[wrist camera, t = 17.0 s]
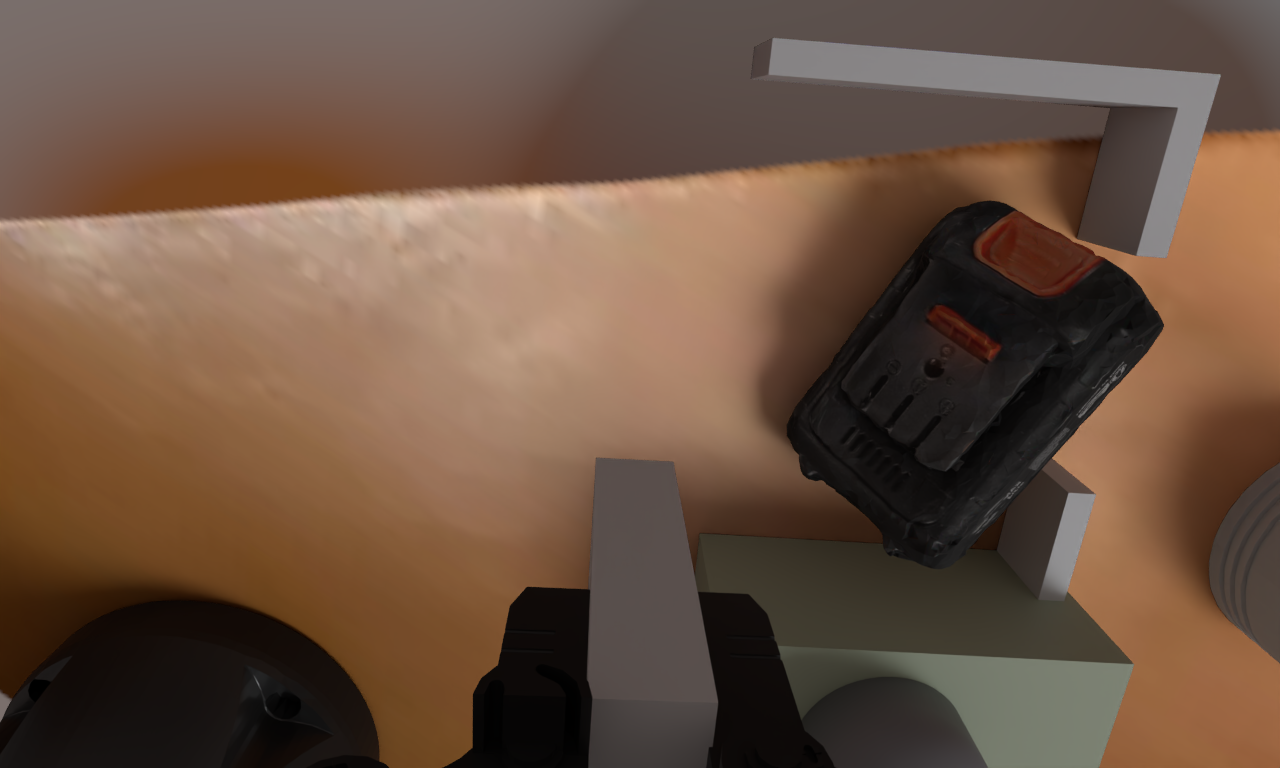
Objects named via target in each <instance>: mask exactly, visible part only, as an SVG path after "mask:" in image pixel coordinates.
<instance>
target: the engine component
mask: <svg viewBox="0 0 1280 768" xmlns="http://www.w3.org/2000/svg"><path fill="white" fill-rule="evenodd" d="M1209 580H1210V586H1211V591H1212V593H1213V595H1214V598H1215V600H1216V603H1217V605H1218V607H1219V608H1220V609H1221V611H1222V612H1223V613H1224V615H1225V616H1226V617H1227V618H1228V620H1229V621H1230V622H1232V623H1233V624H1234V625H1235V626H1236V627H1237V628H1239V629H1240V630H1241V631H1242V632H1244V633H1245V634H1246V635H1247V636H1248V637H1249V638H1250V639H1252V640H1253V641H1254V642H1256V643H1257V644H1258V645H1259V646H1260V647H1261V648H1262V649H1263V650H1265V651H1266V652H1267V653H1268V654H1269V655H1270V656H1272V657H1273V658H1274V659H1275V660H1276V661H1278V662H1279V663H1280V463H1278V464H1277V465H1275V466H1274V467H1272V468H1271V469H1269V470H1268V471H1266V472H1265V473H1264V474H1263V475H1262V476H1260V477H1259V478H1258V479H1257V480H1256V481H1255V482H1254V483H1253V484H1251V485H1250V486H1249V487H1248V488H1247V489H1246V490H1245V491H1244V492H1243V494H1242V495H1241V496H1240V497H1239V498H1238V500H1237V501H1236V502H1235V503H1234V505H1233V506H1232V507H1231V508H1230V510H1229V511H1228V513H1227V515H1226V516H1225V518H1224V520H1223V522H1222V523H1221V525H1220V527H1219V529H1218V532H1217V534H1216V536H1215V539H1214V542H1213V546H1212V551H1211V555H1210V559H1209Z"/></svg>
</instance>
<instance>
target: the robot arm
mask: <svg viewBox="0 0 1280 768" xmlns="http://www.w3.org/2000/svg"><path fill="white" fill-rule="evenodd" d="M0 768H389V767H388V766H387V765H386V764H384V763H382V762H379V742H378V736H377V731H376V728H375V724H374V721H373V718H372V715H371V713H370V710H369V708H368V706H367V704H366V702H365V700H364V699H363V697H362V695H361V693H360V692H359V690H358V689H357V687H356V686H355V684H354V683H353V682H352V680H351V679H350V678H349V677H348V675H347V674H346V673H345V672H344V671H343V670H342V669H341V668H340V666H339V665H338V664H337V663H336V662H335V661H333V660H332V659H331V658H330V657H329V656H328V655H327V654H326V653H325V652H323V651H322V650H321V649H320V648H318V647H317V646H316V645H314V644H313V643H312V642H310V641H309V640H307V639H306V638H304V637H303V636H301V635H299V634H298V633H296V632H294V631H293V630H291V629H289V628H287V627H285V626H283V625H281V624H279V623H277V622H275V621H273V620H270V619H268V618H265V617H263V616H260V615H258V614H255V613H252V612H249V611H246V610H242V609H238V608H235V607H231V606H226V605H221V604H216V603H209V602H200V601H181V600H175V601H158V602H149V603H144V604H138V605H134V606H130V607H126V608H123V609H119V610H116V611H113V612H111V613H108V614H106V615H104V616H101V617H99V618H97V619H96V620H94V621H92V622H90V623H88V624H87V625H85V626H84V627H82V628H81V629H79V630H78V631H77V632H75V633H74V634H73V635H71V636H70V637H69V638H68V639H67V640H66V641H65V642H64V643H63V644H62V645H61V646H60V647H59V648H58V649H56V650H55V651H54V652H53V653H52V654H51V655H50V656H49V657H48V658H47V659H46V660H45V661H44V662H43V663H42V664H41V665H40V666H39V667H38V668H36V669H35V670H34V671H33V673H32V674H31V675H30V676H29V677H28V678H27V679H26V681H25V682H24V683H23V684H22V686H21V687H20V689H19V690H18V691H17V693H16V694H15V696H14V697H13V699H12V701H11V702H10V704H9V706H8V708H7V710H6V712H5V714H4V717H3V719H2V720H1V722H0ZM443 768H836V767H834V764H833V762H832V760H831V758H830V757H829V755H828V753H827V752H826V750H825V748H824V746H823V745H821V744H820V743H819V742H818V741H817V740H816V739H814V738H813V737H812V736H811V735H810V734H809V733H807V732H806V731H805V730H804V727H803V724H802V720H801V717H800V714H799V711H798V708H797V705H796V702H795V699H794V695H793V692H792V689H791V686H790V683H789V680H788V677H787V673H786V670H785V667H784V664H783V661H782V660H781V655H780V651H779V648H778V645H777V642H776V641H775V636H774V633H773V630H772V626H771V623H770V620H769V617H768V614H767V613H766V612H765V611H764V610H763V609H762V608H761V606H760V605H759V604H758V603H757V602H756V601H755V600H754V599H753V598H752V597H751V596H750V595H749V594H741V593H717V592H698V591H697V586H696V581H695V575H694V570H693V565H692V559H691V554H690V549H689V543H688V538H687V532H686V527H685V522H684V516H683V511H682V506H681V500H680V495H679V490H678V484H677V479H676V473H675V468H674V463H673V462H669V461H649V460H630V459H610V458H596V467H595V484H594V500H593V517H592V533H591V550H590V567H589V584H588V589H566V588H542V587H527V588H526V589H525V590H524V591H523V592H522V593H521V594H520V595H519V596H518V598H517V599H516V600H515V601H514V602H513V603H512V604H511V605H510V608H509V613H508V618H507V623H506V628H505V633H504V638H503V643H502V649H501V653H500V658H499V663H498V666H496V667H495V668H494V669H492V670H491V671H490V672H489V673H487V674H486V675H485V676H484V677H482V678H481V680H480V681H479V683H478V685H477V687H476V689H475V691H474V693H473V748H472V749H471V750H469V751H468V752H467V753H466V754H465V755H464V756H462V757H461V758H460V759H458V760H456V761H454V762H453V763H451V764H449V765H447V766H445V767H443Z"/></svg>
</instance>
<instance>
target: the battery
mask: <svg viewBox="0 0 1280 768" xmlns="http://www.w3.org/2000/svg"><path fill="white" fill-rule="evenodd" d="M1163 327H1164V324H1163V322H1162V320H1161V318H1160V316H1159V314H1158V312H1157V311H1156V310H1155V309H1154V308H1153V306H1152V305H1151V303H1150V302H1149V300H1148V298H1147V297H1146V295H1145V293H1144V292H1143V290H1142V288H1141V287H1140V286H1139V285H1138V284H1137V283H1136V281H1135V280H1134V279H1133V278H1132V277H1131V276H1130V275H1128V274H1127V273H1126V272H1125V271H1123V270H1122V269H1121V268H1119V267H1117V266H1116V265H1114V264H1113V263H1111V262H1110V261H1108V260H1107V259H1105V258H1103V257H1100V256H1096V255H1095V254H1094V252H1093V251H1092V250H1090V249H1089V248H1087V247H1085V246H1083V245H1080V244H1077V243H1074V242H1072V241H1071V240H1070V239H1068V238H1067V237H1065V236H1064V235H1062V234H1061V233H1059V232H1056V231H1054V230H1051V229H1049V228H1047V227H1046V226H1044V225H1042V224H1040V223H1038V222H1036V221H1034V220H1032V219H1031V218H1029V217H1028V216H1026V215H1025V214H1023V213H1022V212H1019V211H1017V210H1016V209H1015V208H1013V207H1011V206H1009V205H1007V204H1004V203H1001V202H997V201H984V202H977V203H974V204H971V205H969V206H966V207H958V208H956V209H955V210H953V211H952V212H950V213H949V214H947V215H946V216H945V217H944V218H943V219H942V220H941V221H940V222H939V223H938V224H937V225H936V226H935V227H934V228H933V229H932V231H931V232H930V233H929V234H928V236H927V237H926V238H925V239H924V240H923V241H922V243H921V244H920V245H919V247H918V248H917V249H916V251H915V252H914V253H913V255H912V256H911V257H910V258H909V260H908V261H907V262H906V263H905V265H904V266H903V267H902V268H901V270H900V271H899V272H898V274H897V275H896V276H895V278H894V279H893V280H892V281H891V283H890V284H889V285H888V287H887V288H886V290H885V291H884V292H883V294H882V295H881V297H880V298H879V299H878V301H877V302H876V304H875V305H874V306H873V307H872V308H871V309H870V310H869V311H868V312H867V314H866V315H865V316H864V318H863V319H862V320H861V322H860V323H859V324H858V326H857V327H856V328H855V330H854V331H853V333H852V334H851V336H850V337H849V338H848V340H847V341H846V342H845V344H844V345H843V347H842V348H841V349H840V351H839V352H838V353H837V354H836V355H835V357H834V360H833V362H832V363H831V365H830V366H829V368H828V370H826V371H825V372H824V373H823V374H822V375H821V376H820V377H819V378H818V379H817V381H816V382H815V383H814V384H813V385H812V387H811V388H810V389H809V391H808V392H807V393H806V394H805V396H804V397H803V399H802V400H801V401H800V402H799V403H798V405H797V406H796V407H795V409H794V412H793V414H792V416H791V418H790V420H789V422H788V424H787V436H788V438H789V439H790V441H791V444H792V446H793V449H794V450H795V451H796V452H797V453H798V454H799V463H800V469H801V472H802V474H803V475H804V476H805V477H806V478H808V479H810V480H814V481H819V480H822V481H824V482H825V483H826V484H827V485H828V486H830V487H832V488H834V489H835V490H836V492H838V493H839V494H840V495H842V496H843V497H844V498H846V499H847V500H848V501H849V502H850V503H852V504H853V505H854V506H856V507H857V508H858V509H859V510H860V511H861V512H862V513H863V514H865V515H866V516H867V517H868V518H869V519H870V520H871V521H872V522H873V523H874V524H875V525H876V527H877V528H878V529H879V530H880V531H881V533H882V535H883V548H884V550H885V551H886V553H887V554H888V555H889V556H890V557H891V556H892V555H893V556H895V557H898V558H902V559H906V560H910V561H914V562H916V563H918V564H920V565H922V566H925V567H929V568H932V569H938V570H939V569H944V568H947V567H950V566H951V565H953V564H954V563H955V562H956V561H957V560H959V559H960V558H962V557H963V556H965V555H966V551H967V550H968V549H969V548H970V547H971V546H972V545H973V544H974V543H975V542H976V541H977V539H978V538H979V537H980V536H981V534H982V533H983V532H984V531H985V529H987V528H988V527H989V526H991V525H992V524H993V523H995V522H996V520H997V519H998V518H999V517H1000V515H1001V514H1002V513H1003V512H1004V511H1005V510H1006V508H1007V507H1008V506H1009V505H1010V504H1011V503H1012V502H1013V501H1014V500H1015V499H1016V497H1017V496H1018V495H1019V494H1020V493H1021V492H1022V491H1023V490H1024V489H1025V488H1026V487H1027V485H1028V484H1029V483H1030V482H1031V481H1032V480H1033V479H1034V477H1035V476H1036V475H1037V474H1038V473H1039V472H1040V471H1041V470H1042V468H1043V467H1044V466H1045V465H1046V464H1047V463H1048V462H1049V460H1050V459H1051V458H1052V457H1053V456H1054V455H1055V454H1056V453H1057V452H1058V450H1059V449H1060V448H1061V447H1062V446H1063V445H1064V444H1065V443H1066V441H1067V440H1068V439H1069V438H1070V437H1071V436H1072V435H1073V434H1074V433H1075V432H1076V430H1077V429H1078V427H1079V426H1080V425H1081V424H1082V423H1083V422H1084V421H1085V420H1086V419H1087V418H1088V417H1089V416H1090V415H1091V414H1092V413H1093V412H1094V411H1095V410H1096V408H1097V407H1098V406H1099V405H1100V404H1101V403H1102V401H1103V400H1104V399H1105V397H1106V396H1107V395H1108V393H1109V392H1110V391H1112V390H1113V389H1114V388H1115V387H1116V386H1117V385H1118V384H1119V383H1120V382H1121V381H1122V380H1123V378H1124V377H1125V376H1126V375H1127V374H1128V373H1129V372H1130V371H1131V369H1132V368H1133V367H1134V366H1135V365H1136V364H1137V363H1138V362H1139V361H1140V360H1141V358H1142V357H1143V356H1144V355H1145V354H1146V353H1147V352H1148V350H1149V349H1150V347H1151V346H1152V345H1153V343H1154V342H1155V340H1156V339H1157V337H1158V336H1159V334H1160V333H1161V332H1162V330H1163Z"/></svg>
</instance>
